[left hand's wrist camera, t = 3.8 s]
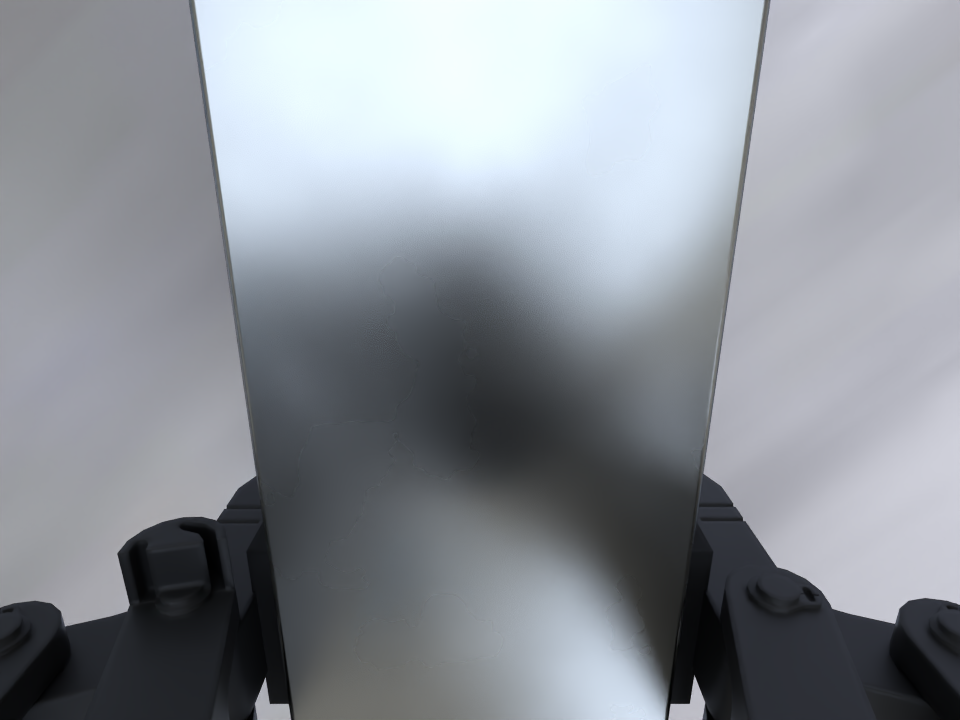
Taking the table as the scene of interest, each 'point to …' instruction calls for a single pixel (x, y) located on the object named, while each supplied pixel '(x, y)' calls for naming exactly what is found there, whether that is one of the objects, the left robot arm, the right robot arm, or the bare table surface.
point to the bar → (479, 334)
